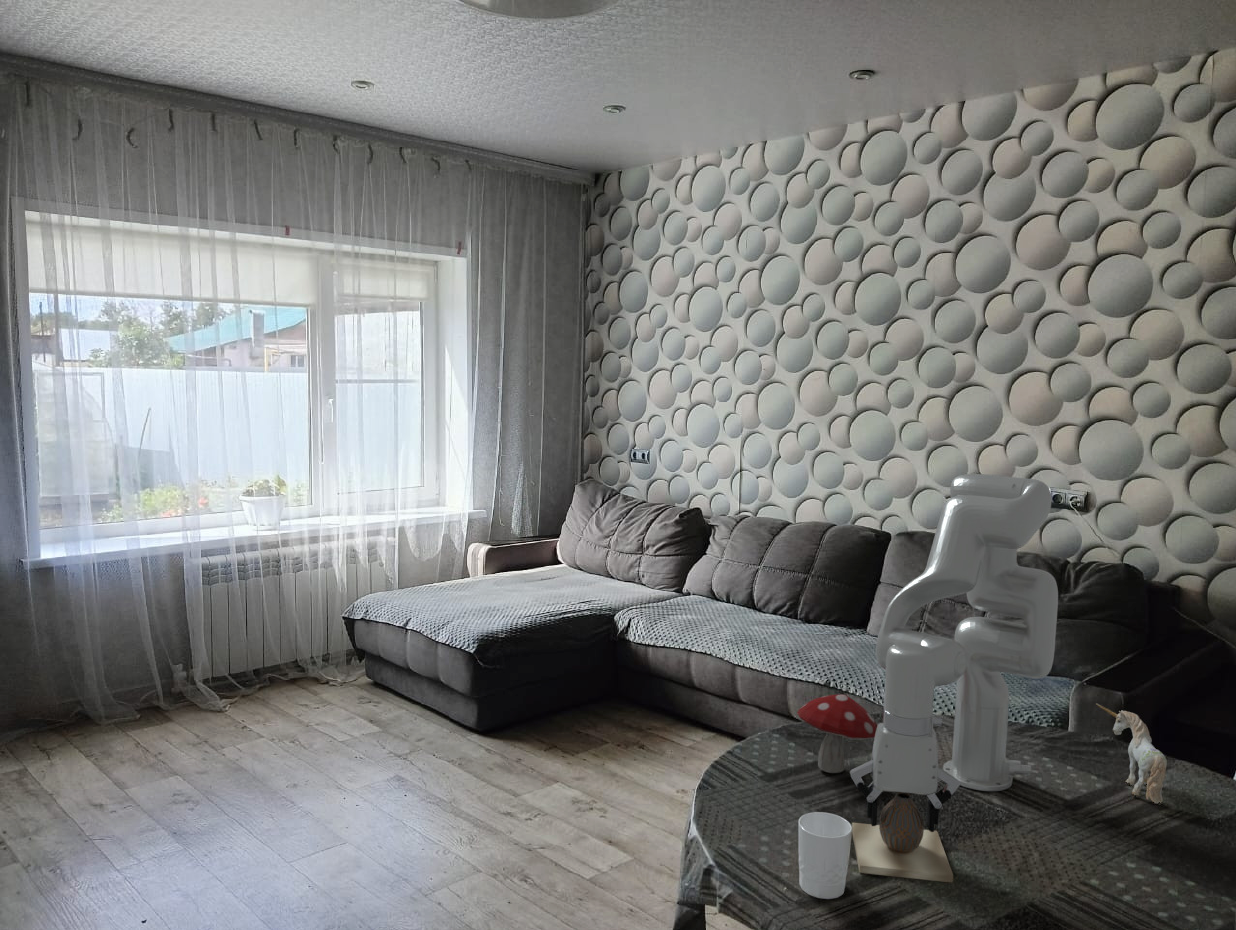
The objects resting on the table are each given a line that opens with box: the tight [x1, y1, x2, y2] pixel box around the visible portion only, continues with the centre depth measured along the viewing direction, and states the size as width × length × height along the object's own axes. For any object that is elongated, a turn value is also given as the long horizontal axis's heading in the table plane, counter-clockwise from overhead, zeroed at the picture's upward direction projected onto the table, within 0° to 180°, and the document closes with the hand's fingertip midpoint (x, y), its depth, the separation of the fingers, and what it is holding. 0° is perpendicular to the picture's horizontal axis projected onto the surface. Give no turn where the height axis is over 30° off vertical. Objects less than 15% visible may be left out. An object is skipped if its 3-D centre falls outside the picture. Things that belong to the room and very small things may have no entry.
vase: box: [878, 792, 925, 853], centre depth 150 cm, size 7×7×9 cm
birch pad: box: [851, 822, 954, 883], centre depth 151 cm, size 14×14×1 cm
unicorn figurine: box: [1095, 703, 1168, 804], centre depth 176 cm, size 7×20×13 cm, turn 4°
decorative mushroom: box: [796, 693, 878, 774], centre depth 182 cm, size 16×16×15 cm
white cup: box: [797, 811, 853, 900], centre depth 140 cm, size 8×8×10 cm
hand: (901, 824), depth 150 cm, fingers open, 8 cm apart
